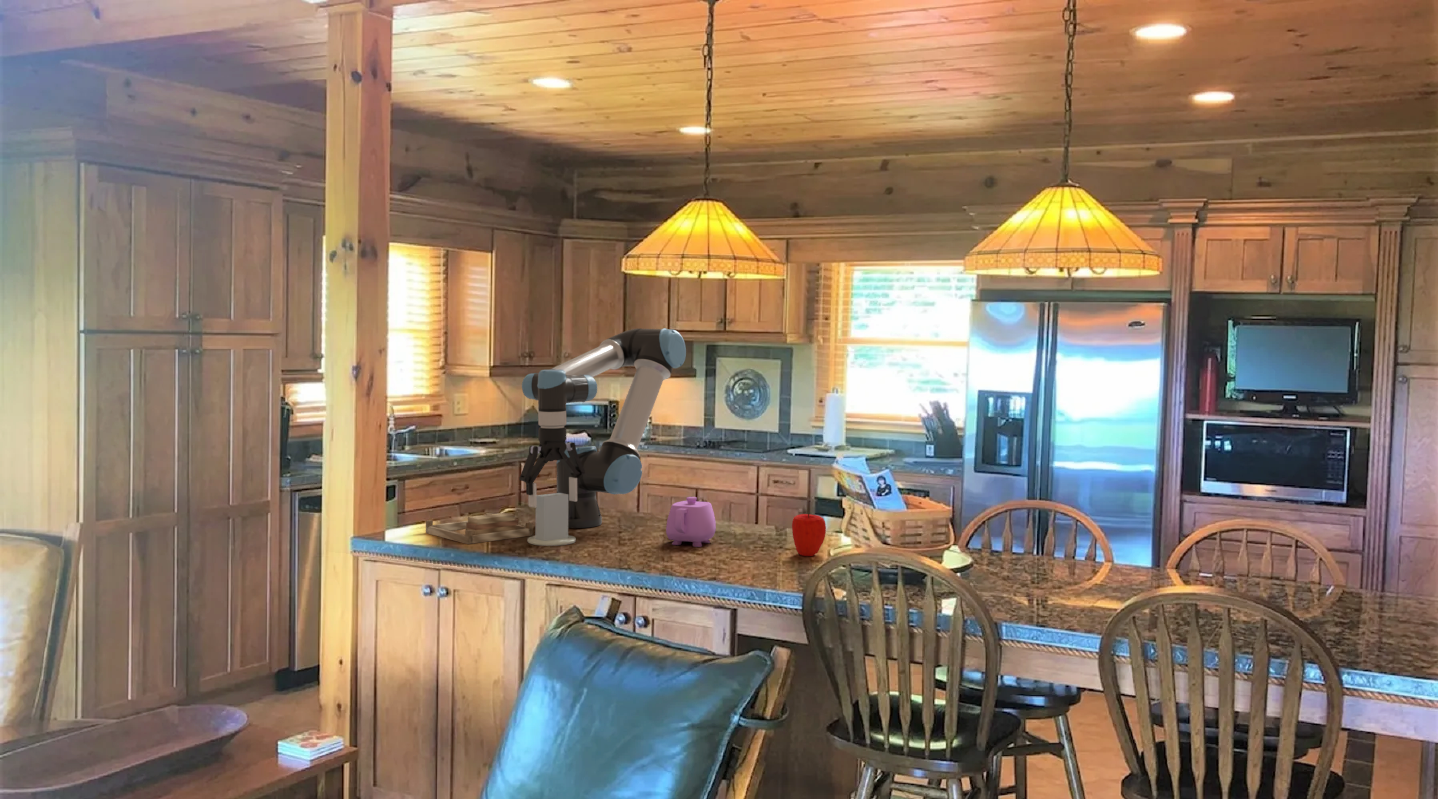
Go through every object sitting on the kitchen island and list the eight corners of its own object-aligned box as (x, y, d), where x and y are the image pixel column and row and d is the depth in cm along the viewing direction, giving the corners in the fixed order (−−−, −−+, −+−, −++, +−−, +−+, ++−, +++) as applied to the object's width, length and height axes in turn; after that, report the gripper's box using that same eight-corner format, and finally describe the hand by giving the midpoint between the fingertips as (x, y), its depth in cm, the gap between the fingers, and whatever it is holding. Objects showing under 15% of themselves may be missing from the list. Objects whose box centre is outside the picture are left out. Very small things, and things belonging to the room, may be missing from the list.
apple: (832, 555, 301) (832, 514, 300) (809, 559, 295) (810, 517, 294) (806, 550, 307) (807, 510, 306) (784, 554, 301) (785, 513, 300)
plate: (556, 535, 324) (556, 532, 324) (585, 541, 314) (585, 539, 314) (518, 540, 315) (518, 537, 315) (546, 547, 305) (546, 544, 305)
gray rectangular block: (559, 535, 319) (559, 492, 318) (568, 537, 316) (568, 494, 315) (535, 539, 313) (535, 495, 312) (544, 541, 310) (544, 497, 310)
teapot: (699, 551, 304) (700, 503, 303) (656, 547, 308) (656, 500, 307) (724, 538, 323) (725, 493, 322) (683, 535, 327) (684, 491, 326)
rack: (489, 524, 339) (489, 513, 339) (532, 535, 323) (532, 522, 323) (425, 532, 325) (425, 520, 324) (467, 544, 309) (467, 531, 309)
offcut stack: (509, 533, 326) (509, 512, 326) (519, 535, 323) (519, 514, 322) (465, 538, 316) (465, 517, 316) (475, 541, 313) (475, 519, 312)
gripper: (580, 422, 324) (581, 496, 326) (505, 428, 307) (506, 507, 308) (597, 424, 319) (597, 500, 320) (521, 431, 301) (523, 511, 303)
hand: (553, 503), depth 314 cm, fingers open, 13 cm apart
